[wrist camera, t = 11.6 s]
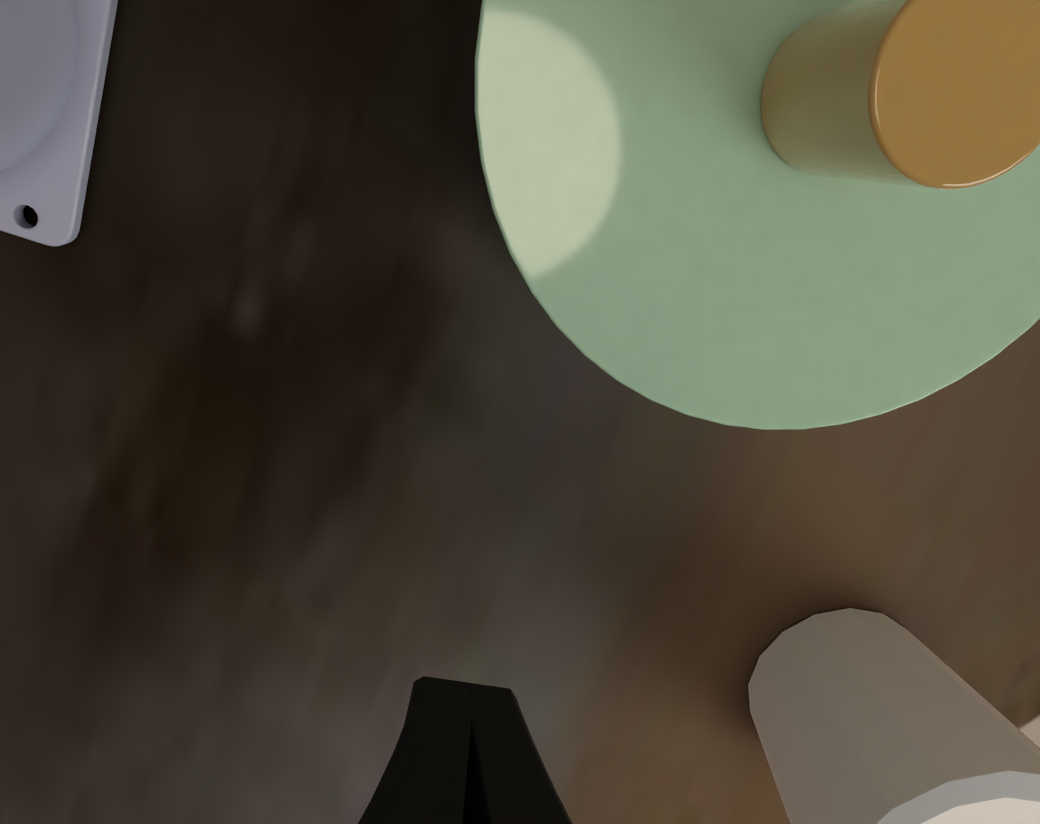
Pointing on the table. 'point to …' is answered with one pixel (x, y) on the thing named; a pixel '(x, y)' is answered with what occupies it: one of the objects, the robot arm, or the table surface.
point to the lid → (769, 192)
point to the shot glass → (884, 731)
